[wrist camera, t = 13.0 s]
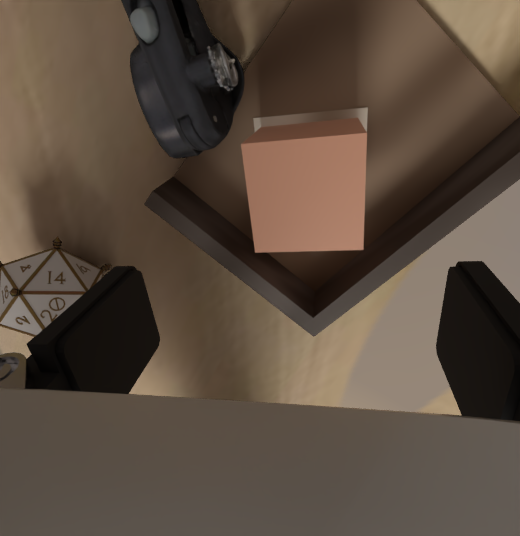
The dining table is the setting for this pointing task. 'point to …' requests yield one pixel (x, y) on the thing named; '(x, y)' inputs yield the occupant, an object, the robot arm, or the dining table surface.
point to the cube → (307, 186)
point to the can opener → (182, 76)
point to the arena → (377, 157)
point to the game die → (43, 288)
